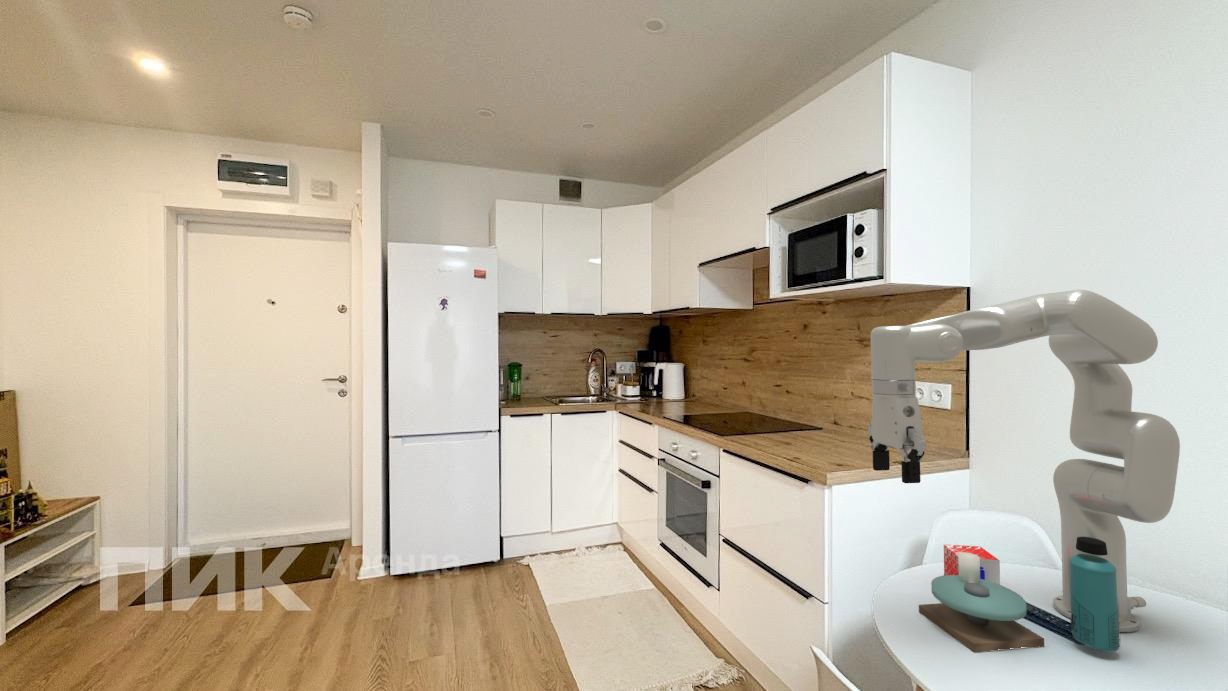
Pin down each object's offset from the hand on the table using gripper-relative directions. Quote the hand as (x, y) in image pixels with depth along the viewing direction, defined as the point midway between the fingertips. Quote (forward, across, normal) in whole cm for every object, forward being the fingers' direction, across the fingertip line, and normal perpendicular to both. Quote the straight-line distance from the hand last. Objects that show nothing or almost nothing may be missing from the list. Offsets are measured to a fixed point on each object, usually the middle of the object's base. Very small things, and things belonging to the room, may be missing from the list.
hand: (895, 476), depth 97 cm
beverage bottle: (+31, -8, -32) cm, 45 cm away
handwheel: (+25, 0, -16) cm, 29 cm away
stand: (+30, 0, -16) cm, 34 cm away
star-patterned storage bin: (+31, +17, -28) cm, 45 cm away
